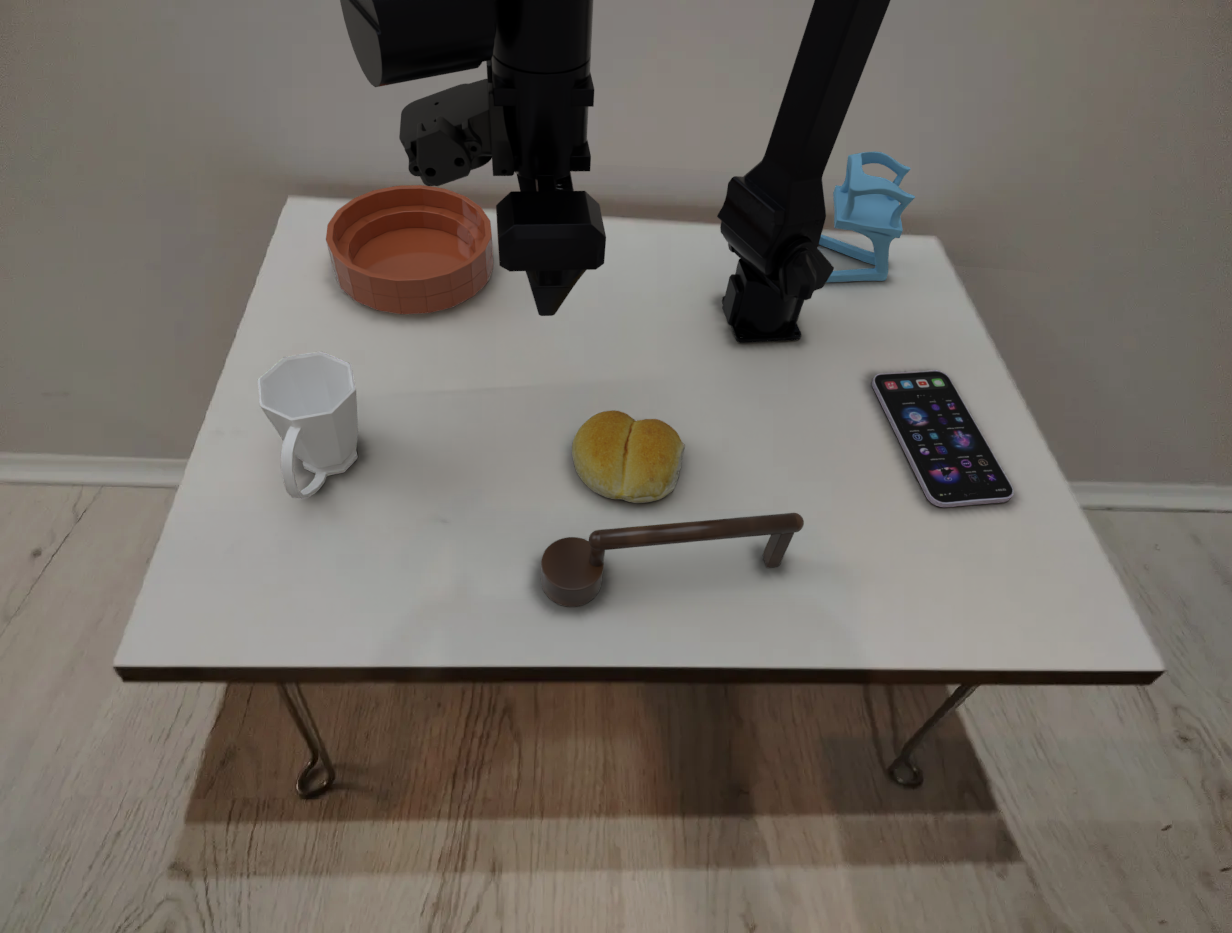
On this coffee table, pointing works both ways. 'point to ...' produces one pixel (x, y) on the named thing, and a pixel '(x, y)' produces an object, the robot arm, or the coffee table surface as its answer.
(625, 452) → the bread roll
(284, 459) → the cup
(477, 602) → the coffee table surface
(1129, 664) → the coffee table surface
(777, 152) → the robot arm
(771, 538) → the ladle
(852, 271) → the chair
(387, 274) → the bowl
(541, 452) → the coffee table surface
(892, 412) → the smartphone
